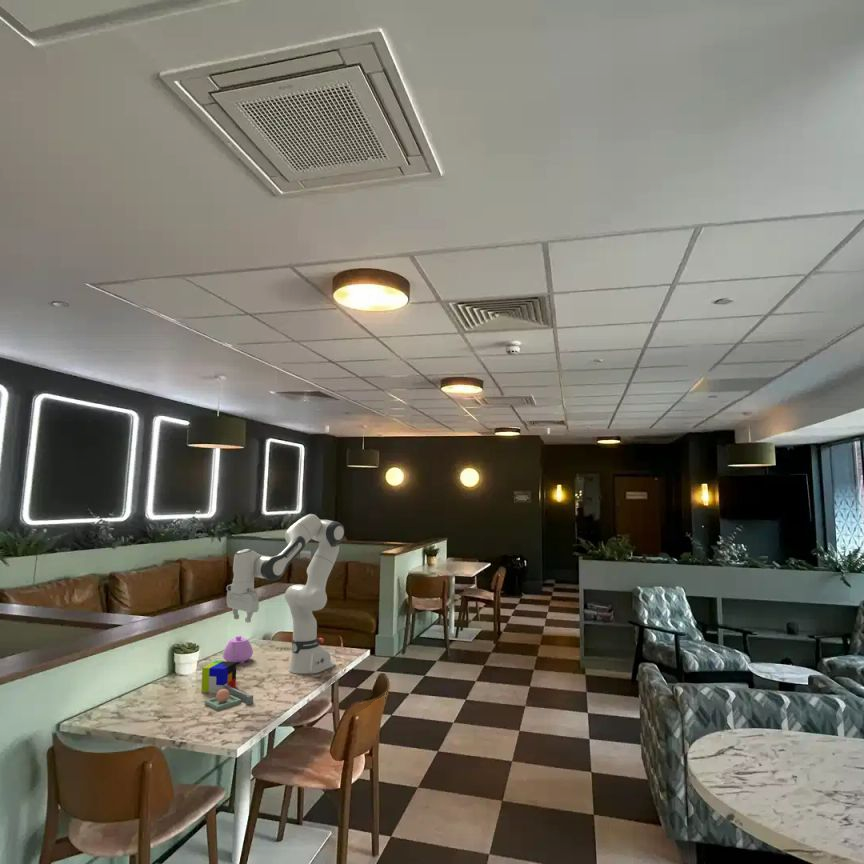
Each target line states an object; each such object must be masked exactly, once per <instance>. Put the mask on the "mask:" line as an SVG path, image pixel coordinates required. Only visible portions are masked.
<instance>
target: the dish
mask: <svg viewBox="0 0 864 864" xmlns="http://www.w3.org/2000/svg"><path fill="white" fill-rule="evenodd" d="M241 704H242V701H241V699H239V698H237V697H234V696H232V695H230V696H229V699H228V700H227V701H226V702H224V703H220V702H218V701H217V699H216V696H215V697H212V698H209V699H205V700H204V705H205V706H207V707H209V708H211V709H213V710H215V711H221V710H224V709H228V708H230V707H231V708H232V707H233V706H237V705H241Z"/></svg>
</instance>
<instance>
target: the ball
mask: <svg viewBox="0 0 864 864" xmlns="http://www.w3.org/2000/svg"><path fill="white" fill-rule="evenodd" d="M229 696H230V694H229V691H228V690H226V689H221V690H219V691H218V693H216V696H215V697H216V699H217V701H218V702H220V703H224V702H226V701H227V700H228V699H229Z"/></svg>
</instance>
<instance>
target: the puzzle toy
mask: <svg viewBox="0 0 864 864" xmlns="http://www.w3.org/2000/svg"><path fill="white" fill-rule="evenodd" d="M237 663H238V662H227V661H226V660H225V661H224V660H215V661H213V662H211V663H208V664H207V665H204V666H203V667H202V670H201V693H210V694H217V693H218V691H219V690H221V689H223V686H227V685H230V687H232V688H235V687H236V686H237Z"/></svg>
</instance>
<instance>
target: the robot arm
mask: <svg viewBox="0 0 864 864" xmlns="http://www.w3.org/2000/svg"><path fill="white" fill-rule="evenodd" d="M284 534H285V535H284V539H285V542H286V543H287V546H286V547H285V548H284V549H283V550H282V551H281V552H280V553H279V554H277V555H274V556H269V555H263V554H260V553H258V552H256V551H254V550H253V549H252V548H245V549H241V550H237V552H235V553H234V557H233V563H232V564H233V565H232V572H233V578H232V583H231V584H227V586H226V591H227V592H226V605H227V608H230V609H232V610H231V611H232V614H233V615H232V616H233V620H239V619H240V614H239V612H238V611H242V612H246V617H245V620H244V621H245V623H247V624H248V623H249V624H250V623H251V622H252V621H251V620H252V616H253V614H254V613H257V612H258V611H259V609H260V606H259V595H258V593H257V591H256V590H255V578H260V579H266V580H269V581H272V582H273V581H277V580H279V579H281V578H282V576H283V575H284V573H286V570H287V568H288V566H289V565H290V564H291V563H292V562H293V561H294V560H295V558H297V557H298V555H299V554H300V553H301V552H302V551H303V550H304V549H305V547H306V544H307V543H309V541H311V540H312V541H316V542H318V548H317V549H316V551H315V553H314V555H312V558H311V559H310V560H311V561H310V562H309V564H308V566H307V568H306V574H307V579H306V580H307V581H306V583H305V584H293V585H290V586H289V587H288V588H286V591H285V593H284V599H285V602H286V603H287V604H288V607H289V610H290V615H291V618H292V626H293V627H292V639H291V651H292V652H291V658H290V663H289V664H290V665H289V668H288V671H289V673H293V674H299V675H300V674H318V673H320V672H323V671H325V670H328V669H330V668H333V667H335V666H336V661H333V660H332V659H331V654H330V651H328V650H327V649H326V648H324V647H323V645H320V643H321V644H322V643H324V641H325V640H324V638H323V637H317V631H318V630H317V629H318V624H317V623H318V622H317V618H315V616H314V614H313V612H315V611H320V610H322V609H324V608H325V606H326V604H327V602H328V596H327V593H326V588H327V587H326V586H327V582H328V578H329V576H330V574H331V571H332V570H333V567H334V565H335V563H336V561H337V557H338V555H339V551H340V544H341V542H342V540H343V538H344V536H345V527H344V525H343V524H342V523H340V522H339V521H334V520H329V519H320V518H319V517H318V516H317V515H316V514H313V513H309V514H306V515H304V516H302V517H301V518H300V519H298V520H297V521H295V522H294V523H292V524H291V525H290V526H289V527H288V528H287V530H286V531H285V533H284Z"/></svg>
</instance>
